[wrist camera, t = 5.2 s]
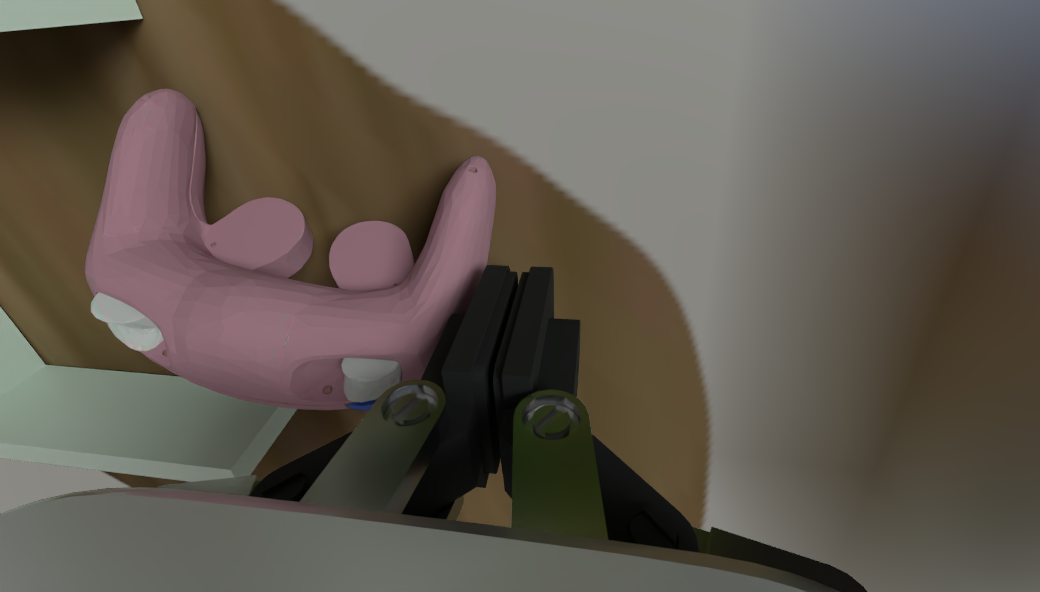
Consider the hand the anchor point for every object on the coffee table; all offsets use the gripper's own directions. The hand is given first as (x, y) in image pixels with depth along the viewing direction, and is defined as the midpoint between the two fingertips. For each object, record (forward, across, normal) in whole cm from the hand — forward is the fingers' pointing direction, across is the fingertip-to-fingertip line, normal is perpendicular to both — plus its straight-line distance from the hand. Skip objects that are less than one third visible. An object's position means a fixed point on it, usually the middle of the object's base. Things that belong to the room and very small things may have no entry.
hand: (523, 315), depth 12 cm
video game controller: (+3, +6, -2) cm, 7 cm away
